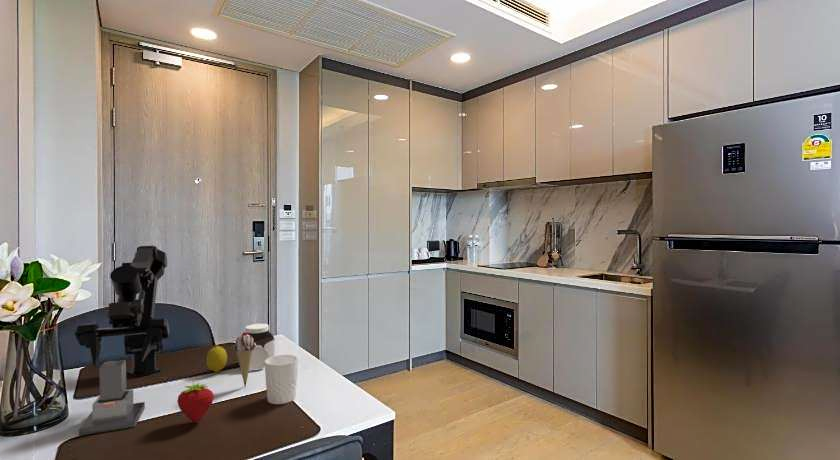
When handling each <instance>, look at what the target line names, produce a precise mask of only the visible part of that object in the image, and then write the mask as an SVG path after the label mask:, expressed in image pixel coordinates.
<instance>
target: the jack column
mask: <svg viewBox="0 0 840 460" xmlns="http://www.w3.org/2000/svg"><path fill="white" fill-rule="evenodd" d="M126 361H127V360H126V359H122V360H121V359H120V360H111V361H104V362H103V363H102V364H101V365H100V367H98V368H99V371H98V372H99V396H100V402H108V401H115V400H123V399H125V397H126V390H127V362H126Z"/></svg>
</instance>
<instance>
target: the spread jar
mask: <svg viewBox="0 0 840 460" xmlns="http://www.w3.org/2000/svg"><path fill="white" fill-rule="evenodd" d="M269 326H270V325H269V324H267V323H253V324H249V325H246V326H245V328H244V330H245V332H246V333H247V334H248V335H250V336H252V338H253V340H254V343H256V347H255V348H254V349H253V353H252V358H251V363H250V368H249V370H252V371H260V370H262V369H263V368H264V369H265V360H266V359H268V358H270V357H273V356H275V353H276V352H275V351H276V342H275V337H274V335H273V333H271V332H270V331H269V329H270V328H269Z"/></svg>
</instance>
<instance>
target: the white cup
mask: <svg viewBox="0 0 840 460" xmlns="http://www.w3.org/2000/svg"><path fill="white" fill-rule="evenodd" d="M298 358H299V357H298V356H296V355H293V354H279V355H278V354H277V355H274V356H273V357H270V358H268V359H266V360H265V367H264V370H265V371H264V373H265V386H266V387H265V388H266V393H267V402H268V404H269V403H270V404H272V405H283V404H288V403H290V402H293V401H294V400H295V399H296V397H297V395H296V391H297V381H298V360H299V359H298Z"/></svg>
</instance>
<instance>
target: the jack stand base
mask: <svg viewBox="0 0 840 460" xmlns="http://www.w3.org/2000/svg"><path fill="white" fill-rule="evenodd" d="M145 404H146V403H145V401H143V402H142V401H141V402H136V403H134V389H126V397H125V399H123V400H115V401H108V402H100V395H99V396H98V397H97V398H96V399H95V400H94V402H93V403H92V405H91V407H92V408H91V412H90V413H89V415H88V416H87V417H86V419H85V420H84V421H83V422H82V424H81V425H80V426H79V428H78V436H80V437H81V436H87V435H92V434H98V433H104V432H112V431H117V430H118V431H119V430H124V429H131V428H136V426H137V424H138V422H139V421H140V419H141V416H142V415H143V413H144V411H145V409H146V405H145Z"/></svg>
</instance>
